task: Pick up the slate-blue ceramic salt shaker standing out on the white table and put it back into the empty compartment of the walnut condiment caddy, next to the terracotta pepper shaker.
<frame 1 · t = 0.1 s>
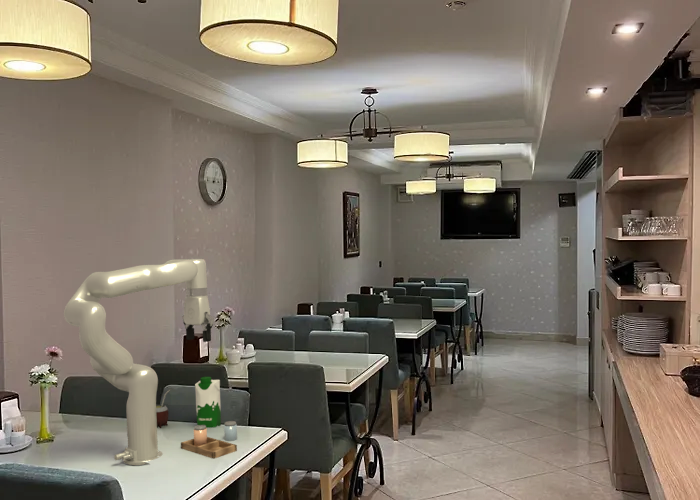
hand: (198, 340, 238), 37 cm above the table, tool pointing down, fingers open, 9 cm apart
salt shaker: (231, 442, 236), on the table
pepper shaker: (200, 447, 228), point 1 cm above the table, touching caddy
caddy: (208, 453, 225), on the table
milk carton: (209, 428, 256), on the table
mate gourd: (160, 426, 260), on the table
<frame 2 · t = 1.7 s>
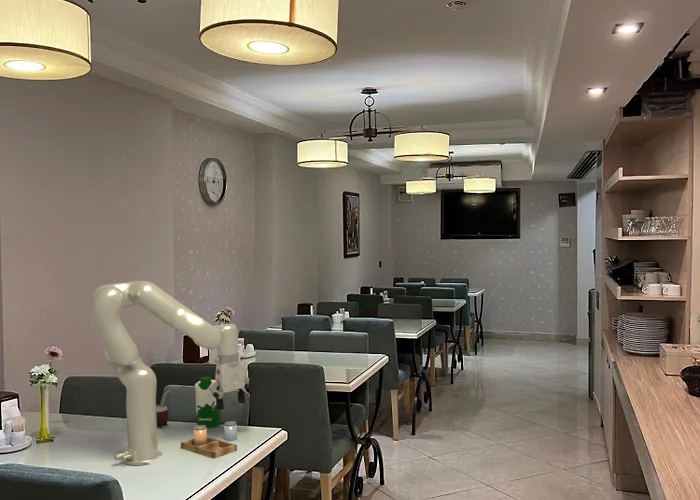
hand: (231, 406, 236), 13 cm above the table, tool pointing down, fingers open, 9 cm apart
nothing on the table moved.
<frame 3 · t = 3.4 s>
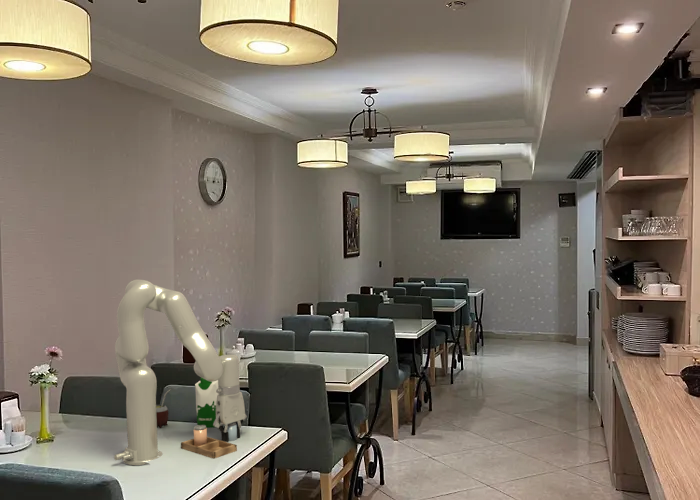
hand: (231, 440, 236), 1 cm above the table, tool pointing down, fingers closed on salt shaker, 4 cm apart
salt shaker: (231, 442, 236), on the table, touching gripper
everything else where it was.
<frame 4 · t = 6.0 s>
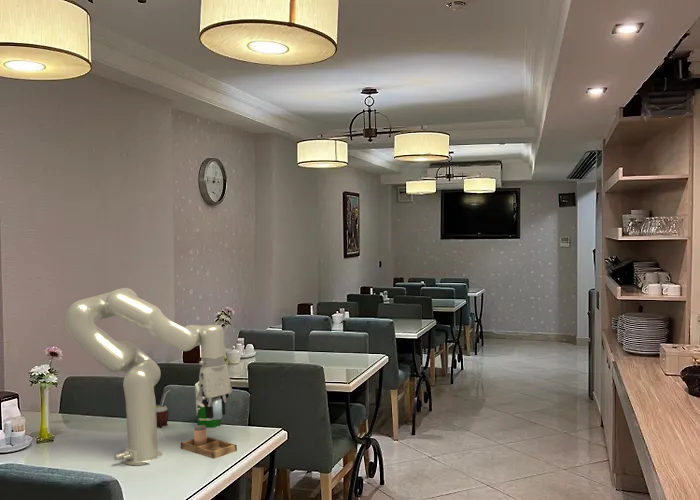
hand: (215, 415, 222), 14 cm above the table, tool pointing down, fingers closed on salt shaker, 4 cm apart
salt shaker: (215, 418, 222), point 13 cm above the table, touching gripper
everything else where it was.
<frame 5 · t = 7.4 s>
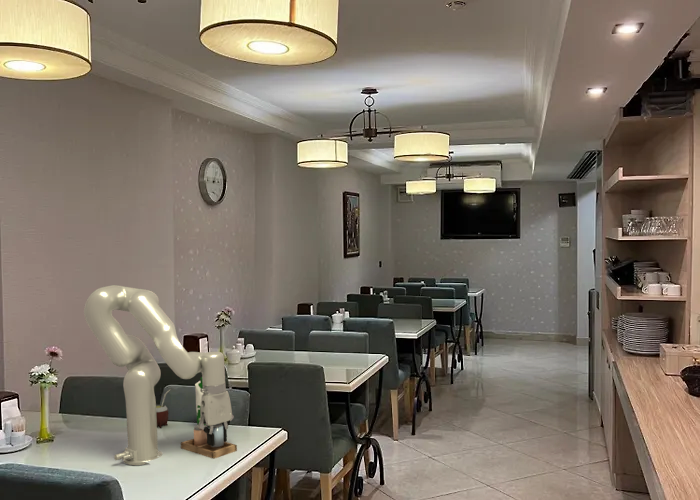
hand: (217, 442, 222), 4 cm above the table, tool pointing down, fingers closed on salt shaker, 4 cm apart
salt shaker: (217, 445, 222), point 4 cm above the table, touching gripper
everything else where it was.
when the fingers open (3 cm above the table, at t = 8.5 s): salt shaker drops 1 cm, resting on caddy.
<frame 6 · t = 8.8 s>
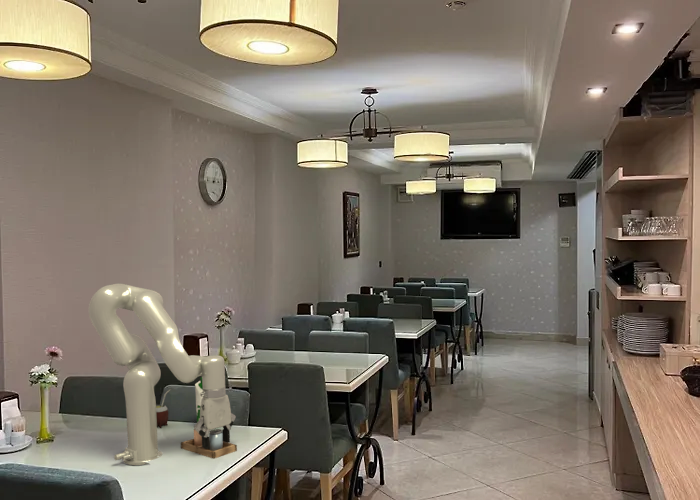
hand: (216, 444, 222), 4 cm above the table, tool pointing down, fingers open, 7 cm apart
salt shaker: (216, 452, 222), point 1 cm above the table, touching caddy
everything else where it was.
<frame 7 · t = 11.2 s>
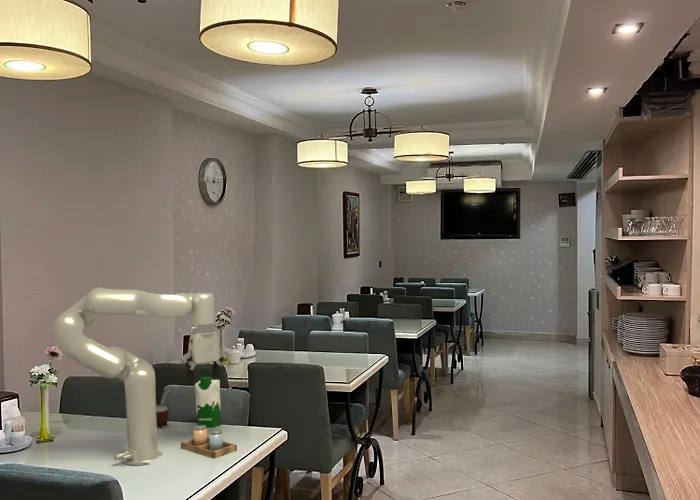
hand: (203, 378, 226), 25 cm above the table, tool pointing down, fingers open, 9 cm apart
nothing on the table moved.
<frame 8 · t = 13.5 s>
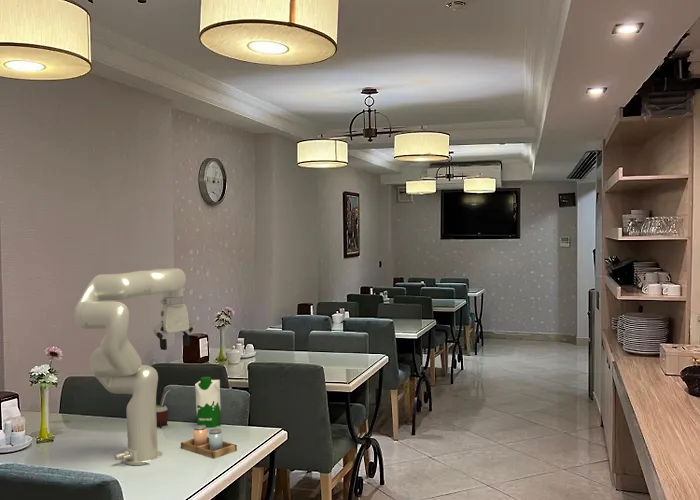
hand: (175, 347, 245), 33 cm above the table, tool pointing down, fingers open, 9 cm apart
nothing on the table moved.
at the end: salt shaker 0.1 cm from the target spot on the caddy, point 1.3 cm above the caddy's base; salt shaker tilted 2°; the gripper is holding nothing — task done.
